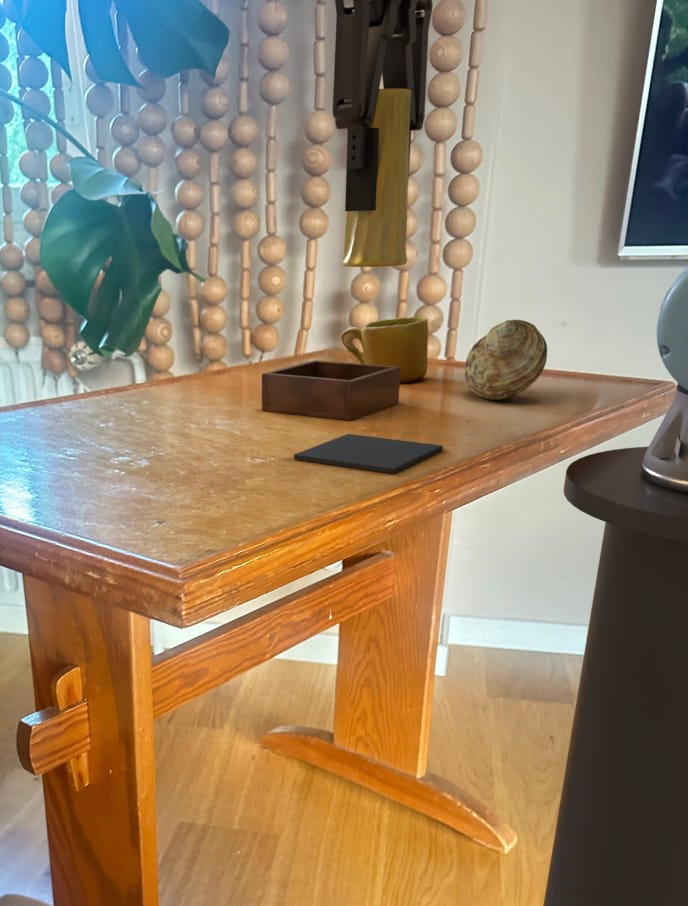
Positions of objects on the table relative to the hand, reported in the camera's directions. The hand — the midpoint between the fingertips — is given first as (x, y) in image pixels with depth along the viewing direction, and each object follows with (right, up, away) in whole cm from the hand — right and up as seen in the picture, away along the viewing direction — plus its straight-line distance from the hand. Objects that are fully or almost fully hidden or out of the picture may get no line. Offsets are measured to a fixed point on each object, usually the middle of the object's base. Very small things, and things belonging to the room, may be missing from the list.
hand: (376, 209), depth 85 cm
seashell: (+22, -9, +34) cm, 41 cm away
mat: (+1, -21, +8) cm, 23 cm away
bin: (0, -10, +31) cm, 33 cm away
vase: (0, -4, +2) cm, 5 cm away
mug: (+10, -2, +49) cm, 50 cm away
